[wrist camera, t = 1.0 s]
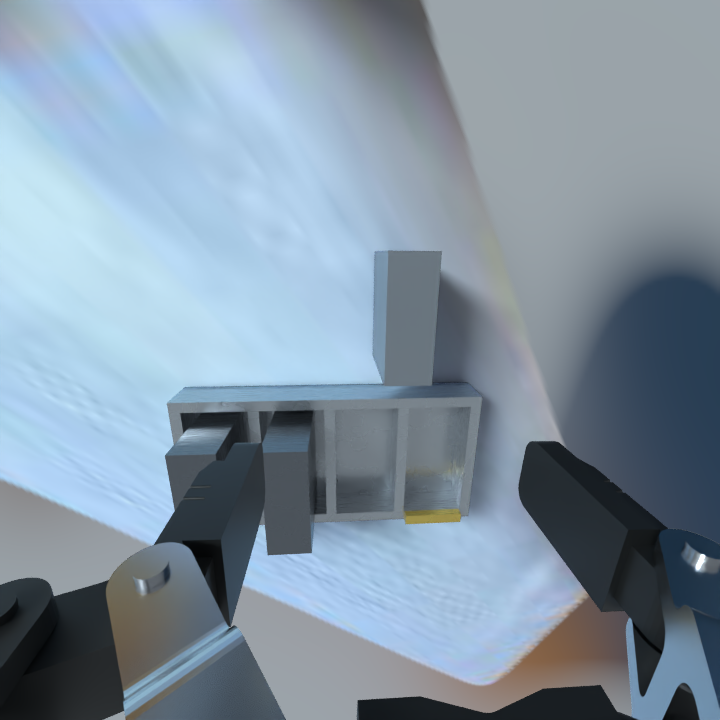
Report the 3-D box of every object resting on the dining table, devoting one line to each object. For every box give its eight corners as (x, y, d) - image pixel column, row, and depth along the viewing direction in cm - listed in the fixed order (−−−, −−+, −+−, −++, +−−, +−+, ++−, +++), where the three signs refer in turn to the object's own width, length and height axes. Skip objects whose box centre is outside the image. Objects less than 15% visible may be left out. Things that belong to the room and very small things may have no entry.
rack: (202, 501, 31) (161, 577, 24) (184, 387, 28) (131, 434, 20) (456, 492, 32) (490, 560, 25) (467, 382, 29) (510, 424, 22)
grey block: (374, 251, 26) (388, 250, 19) (414, 251, 26) (441, 251, 19) (372, 354, 28) (384, 386, 21) (409, 354, 28) (431, 385, 22)
